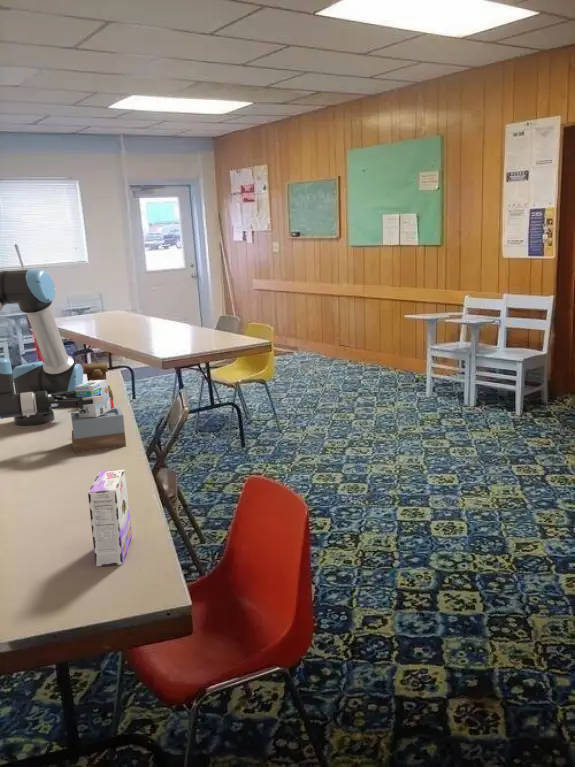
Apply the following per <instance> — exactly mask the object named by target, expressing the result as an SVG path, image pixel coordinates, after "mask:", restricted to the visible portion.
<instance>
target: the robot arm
mask: <svg viewBox="0 0 575 767" xmlns="http://www.w3.org/2000/svg"><path fill="white" fill-rule="evenodd" d="M55 296H56V290H55V284H54V281H53V279H52V277H51V275H50V274H49V272H47V271H46V270H43V269H36V268H35V269H34V268H29V269H21V270H19V269H18V270H16V269H15V270H1V271H0V313H1V312H2V311H3V309H4V306H5V305H18V307H19V310H20V312H22V313H23V314H26V317H27V319H28V321H29V323H30V327H31V330H32V331H33V334H34V336H35V339H36V342H37V344H38V348H39V350H40V352H41V356H42V358H43V361H42V360H40V361H33V362H29V363H24V364H20V365H17V366H15V367H14V368H12V363H11V360H10V358H8V357H0V419H2V420H3V419H8V418H9V419H10V418H13V422H14V424H15V425H18V426H33V425H41V424H45V423H48V422H51V421H54V420H55V412H54V409H55V410H56V409H58V410H59V409H78V408H80V409H83V406H90V405H99V404H104V399H103V396H94V397H85V398H83V400H82V399H77V397H76V391H75V386H78V385H80V384H83V383H84V382H83V381H84V368H83V366H82V364H80V363H75V362H74V358H73V357H72V356H70V355H69V354H68V353H67V351H66V347H65V345H64V342H63V340H62V337H61V334H60V331H59V328H58V325H57V323H56V319H55V317H54V315H53V314H54V313H53V310H52V308H51V306H52V305H53V301H54V299H55V298H56V297H55ZM49 395H50V396H49Z"/></svg>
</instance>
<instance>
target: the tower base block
mask: <svg viewBox="0 0 575 767" xmlns="http://www.w3.org/2000/svg"><path fill="white" fill-rule="evenodd" d="M71 442H72V451H73V454H75V453H74V452H77V453H83V452H82V451H85V452H91V451H90V450H93V451H99V450H98V449H101V450H107V449H106V448H109V449H115V448H114V447H117V448H124V447H123V446H125V447H127V441H126V432H125V433H120V434H112V435H104V436H96V437H88V438H80V439H74V436H73V429H72V430H71Z"/></svg>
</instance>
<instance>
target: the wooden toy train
mask: <svg viewBox="0 0 575 767" xmlns="http://www.w3.org/2000/svg"><path fill="white" fill-rule="evenodd" d="M82 369H83V375H86V379H87V381H89V380H107V372H109V369H108V363H106V362H97V363H88V364H83V366H82ZM108 391H109V397H111V400H112V401H113V402H114V394H113V390H112V389H111V386H110V384H109V385H108Z"/></svg>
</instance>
